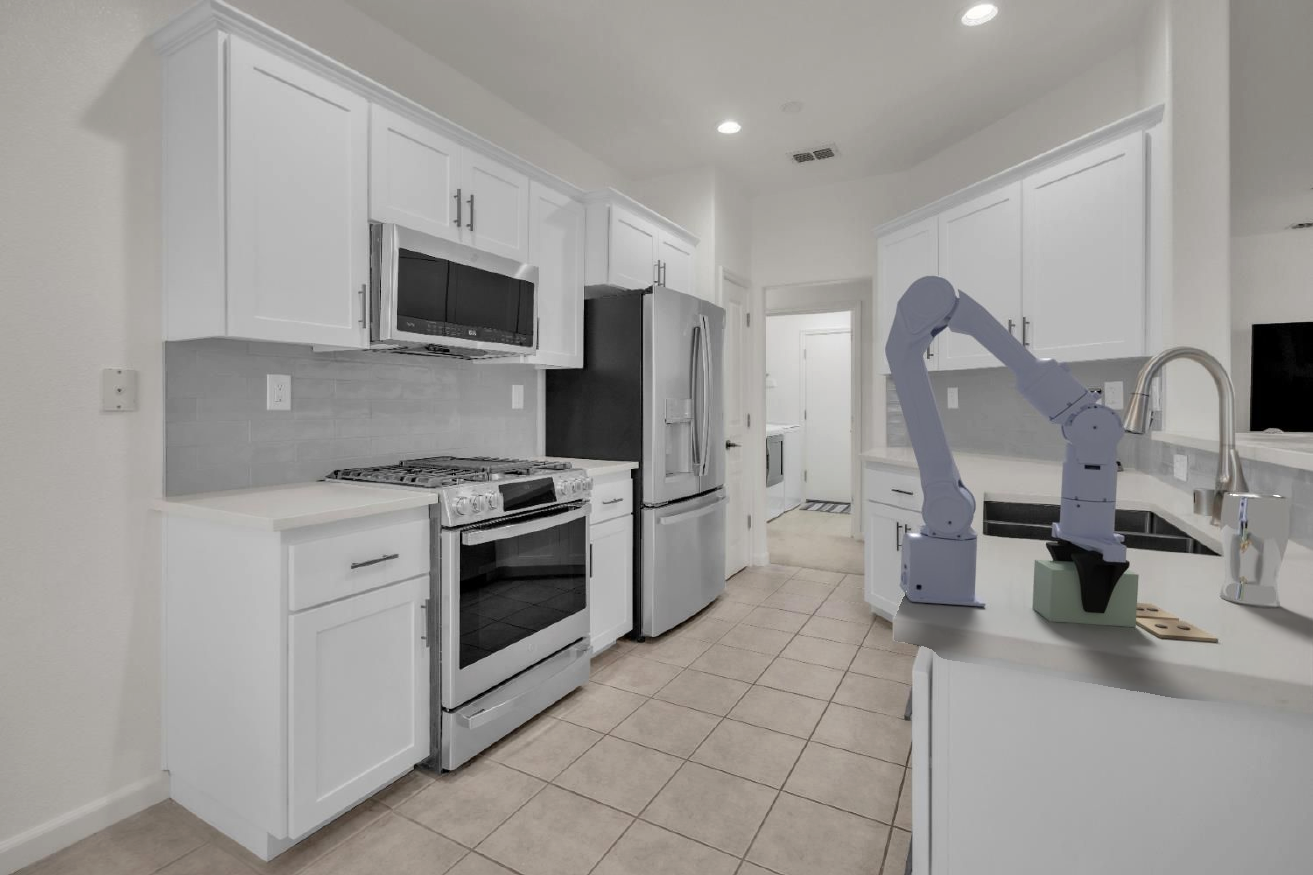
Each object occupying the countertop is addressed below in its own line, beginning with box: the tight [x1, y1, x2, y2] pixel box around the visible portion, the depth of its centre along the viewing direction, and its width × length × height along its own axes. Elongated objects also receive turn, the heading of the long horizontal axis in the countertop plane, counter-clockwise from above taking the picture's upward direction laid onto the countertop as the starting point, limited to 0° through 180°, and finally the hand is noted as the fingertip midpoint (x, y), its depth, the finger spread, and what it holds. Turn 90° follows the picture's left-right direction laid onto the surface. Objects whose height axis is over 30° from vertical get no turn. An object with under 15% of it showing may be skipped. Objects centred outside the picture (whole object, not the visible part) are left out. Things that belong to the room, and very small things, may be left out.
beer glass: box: [1219, 491, 1291, 609], centre depth 87 cm, size 7×7×15 cm
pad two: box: [1136, 618, 1219, 643], centre depth 75 cm, size 6×6×1 cm
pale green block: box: [1032, 559, 1140, 628], centre depth 79 cm, size 10×5×6 cm, turn 80°
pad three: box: [1136, 602, 1180, 621], centre depth 82 cm, size 6×6×1 cm
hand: (1082, 604), depth 79 cm, fingers closed on pale green block, 5 cm apart
